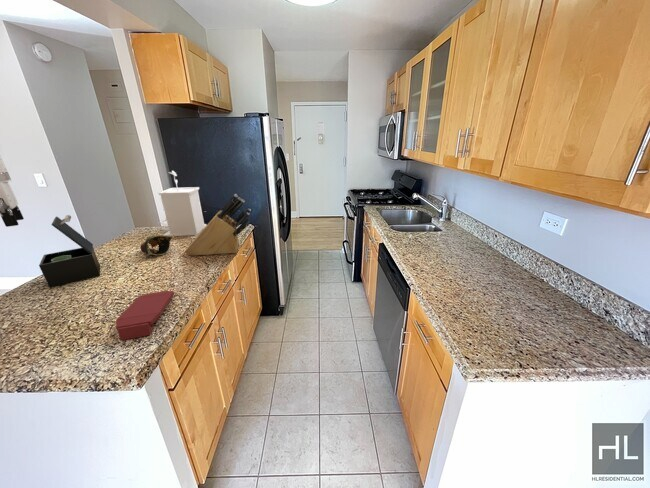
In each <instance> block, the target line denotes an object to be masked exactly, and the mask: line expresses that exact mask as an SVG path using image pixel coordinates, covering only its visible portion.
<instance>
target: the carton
mask: <svg viewBox="0 0 650 488" xmlns="http://www.w3.org/2000/svg"><path fill="white" fill-rule="evenodd" d="M174 295H175V292H174V290H163V291H156V292H150V293H145V294H141V295H138V296H137V297H136V298H135V299H134V301H132V302H131V304H130V305H129V306H128V307H127V308H126V309H125V310H124V311H123V312H122V313H121V314H120V315H119V316H118V317H117V319H116V321H115V328H116V331H117V333H118V337H119V341H125V340H131V339H136V338H141V337H147V336H151V334H153V329H152V325H154V323H155V322H157V320H158V319H159V318H160V317H161V316H162V314H163V312H164V310H166V307H167V306H168V305H169V303H170V301H171V300H172V299H173V297H174Z"/></svg>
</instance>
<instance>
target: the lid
mask: <svg viewBox="0 0 650 488" xmlns="http://www.w3.org/2000/svg"><path fill="white" fill-rule="evenodd" d="M71 219H72V216H71V215H70V214H67V215H65V216H64V218H63V219H61V218H60V217H59V216H55V218H53V221H52V223H51V226H52V227H54V228H55V229H56V230H58V232H60V233H61V234H63V235H64V236H65V237H67V238H68V239H69V240H71V241H73V242H74V243H75V244H76V245H78V246H79V248H83V249H84V250H86V251H87V252H88V253H90V254H92V253H93V249H94V244H93V243H92V242H91V241H90V240H88V239H87V238H86V237H85V236H83V235H82V234H80V232H78V231H77V230H76V229H74V228H73V227H71V226H70V225H69V224H68V223H69V222H71Z"/></svg>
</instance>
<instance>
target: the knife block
mask: <svg viewBox="0 0 650 488" xmlns="http://www.w3.org/2000/svg"><path fill="white" fill-rule="evenodd" d="M244 204H245V199H244V198H243V199H242V198H241V197H238V194H237V193H234V194H233V196H232V197H230V199H229V200H228V201H227V202H226V204H224V206H223V207H222V208H221V210H219V211H218V212H217V213H216V214H215V216H213V218H212V219H211V220H210V221H209V222H208V223H207V224H206V226H205V227H204V228H203V229H202V230H201V231H200V232H199V233H198V234H197V235H196V237H195V238H194V239H193V240H192V242H191V243H190V244H189V245H188V247H186V249H185V250H184V253H185V254H187V255H188V256H206V255H207V256H208V255H220V254H235V253H237V251H238V248H239V245H240V244H239V236H238V235H239V234H241V233H242V232H243V231H244V230H245V229H246V228H247V227H249V225H250V222H251V218H248V217H249V216H250V212H251V211H252V209H251V208H247V209H243V211H241V212H240V214H238V216H237V217H236V218H235V219H233V218H232V217H233V216H234V215H235V214H236V213H237V212H238V210H240V208H241V207H242V206H243V205H244Z"/></svg>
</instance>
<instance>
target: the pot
mask: <svg viewBox="0 0 650 488" xmlns="http://www.w3.org/2000/svg"><path fill="white" fill-rule="evenodd" d="M174 237H175V236H174V235H171V236H163V235H161V234H154V235H150V236H148V237H147V238H146V239H145V241H144V242H143V243H141V244H140V248H139V249H140V251H141V252H142V253H145V256H151V255H152V256H163V255H165V254H166V253H167V252H169V250H170V248H171V241H172V240H173V238H174ZM149 245H150V246H149ZM157 246H158V250H156V251H152V250H151V248H152V249H154V248H156V247H157ZM150 247H151V248H150Z"/></svg>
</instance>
